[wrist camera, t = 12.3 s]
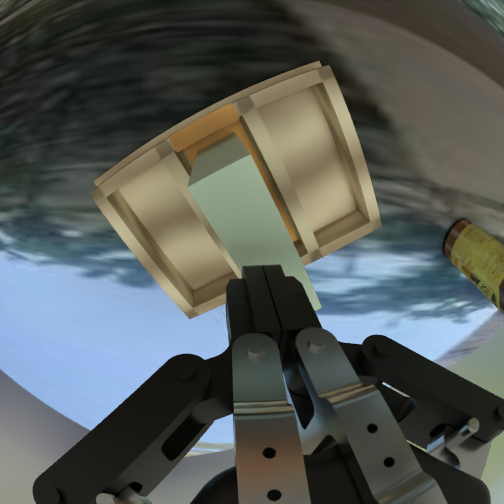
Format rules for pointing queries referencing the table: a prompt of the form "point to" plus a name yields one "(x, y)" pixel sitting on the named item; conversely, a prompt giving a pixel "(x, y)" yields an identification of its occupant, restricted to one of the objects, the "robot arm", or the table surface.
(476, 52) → the table surface
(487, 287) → the sauce bottle
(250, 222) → the block
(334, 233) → the rack
